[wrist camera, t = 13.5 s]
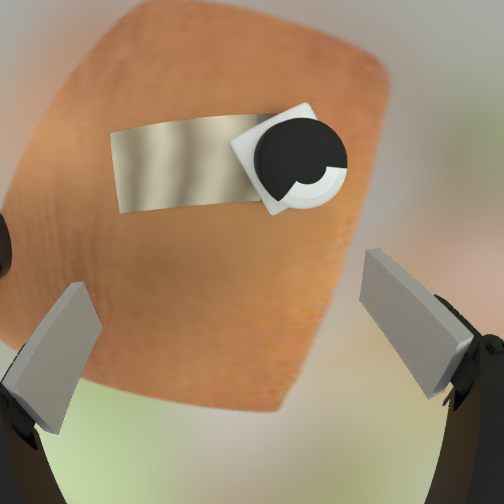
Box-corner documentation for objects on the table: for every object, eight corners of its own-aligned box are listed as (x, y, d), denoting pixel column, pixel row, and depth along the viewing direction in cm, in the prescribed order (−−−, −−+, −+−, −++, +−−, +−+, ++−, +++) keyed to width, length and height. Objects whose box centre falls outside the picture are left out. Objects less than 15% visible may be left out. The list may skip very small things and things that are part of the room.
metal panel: (123, 211, 31) (120, 213, 30) (114, 132, 27) (110, 132, 26) (315, 196, 32) (318, 198, 31) (314, 115, 28) (318, 114, 27)
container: (227, 140, 28) (226, 141, 16) (289, 109, 27) (330, 91, 15) (261, 199, 31) (283, 239, 19) (319, 168, 30) (374, 189, 18)
